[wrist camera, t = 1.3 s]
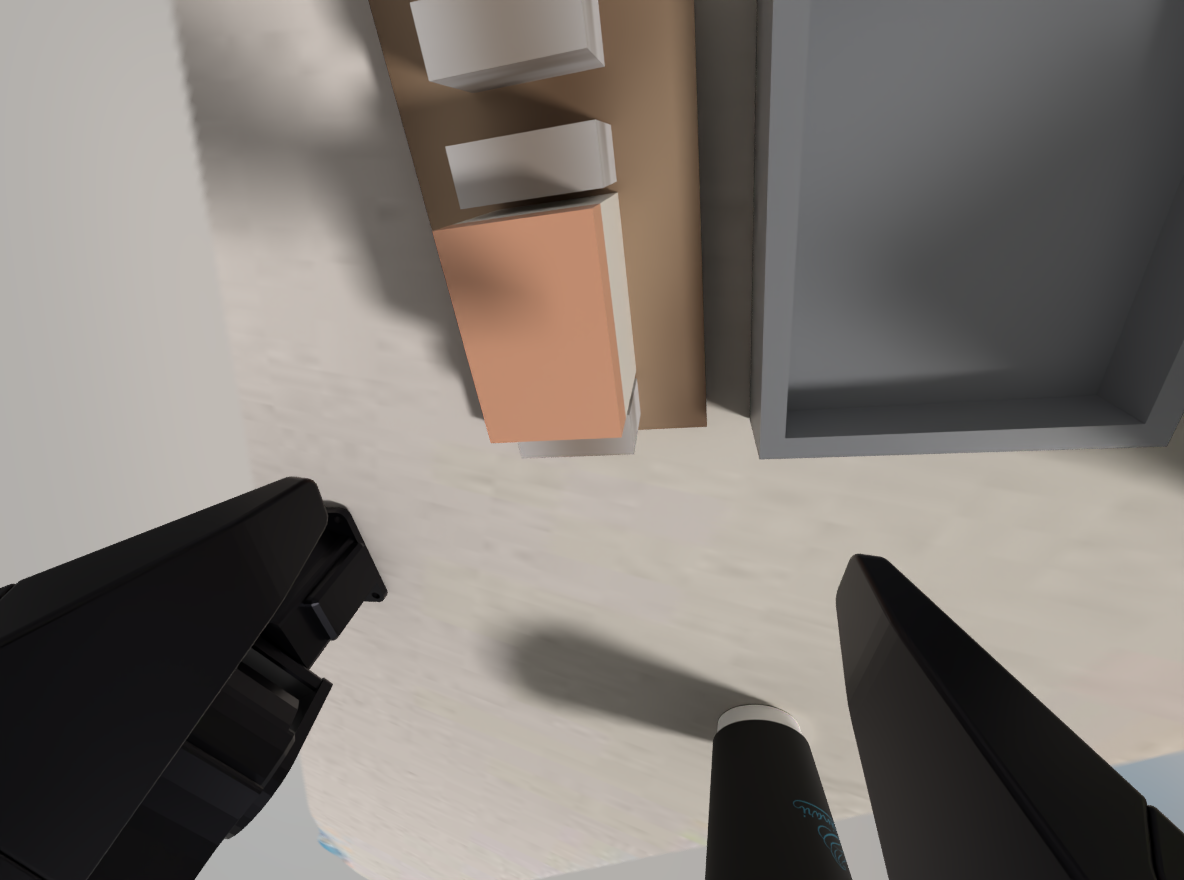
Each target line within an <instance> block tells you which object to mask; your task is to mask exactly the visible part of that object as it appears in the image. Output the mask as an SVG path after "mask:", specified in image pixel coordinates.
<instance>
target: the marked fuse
mask: <svg viewBox="0 0 1184 880" xmlns="http://www.w3.org/2000/svg"><path fill="white" fill-rule="evenodd" d="M432 233H433V236H434V240H435V243H436V247H437V251H438V254H439V258H440V261H441V265H442V269H443V272H444V276H445V279H446V283H447V287H448V290H449V294H450V297H451V301H452V305H453V308H454V312H455V315H456V319H457V323H458V326H459V330H460V334H461V337H462V341H463V344H464V348H465V352H466V355H467V359H468V362H469V366H470V370H471V373H472V377H473V380H474V384H475V388H476V391H477V395H478V398H479V402H480V406H481V409H482V413H483V416H484V420H485V424H486V427H487V431H488V435H489V438H490V442H491V443H507V442H530V441H553V440H576V439H600V438H622V434H623V429H624V425H625V420H626V416H627V411H628V406H629V402H630V397H631V393H632V388H633V383H634V379H635V374H636V364H635V354H634V345H633V335H632V325H631V315H630V306H629V296H628V286H627V277H626V267H625V257H624V247H623V238H622V228H621V218H620V209H619V199H618V192H617V193H610V194H603V195H596V196H590V197H583V198H576V199H569V200H563V201H556V202H549V203H542V204H536V205H529V206H522V207H515V208H509V209H502V210H497V211H494V212H490V213H487V214H484V215H481V216H478V217H475V218H472V219H469V220H465V221H462V222H459V223H456V224H453V225H450V226H447V227H444V228H440V229H437V230H434V231H432Z"/></svg>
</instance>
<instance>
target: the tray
mask: <svg viewBox="0 0 1184 880" xmlns="http://www.w3.org/2000/svg"><path fill="white" fill-rule="evenodd" d="M1183 413H1184V0H757V36H756V92H755V149H754V206H753V263H752V320H751V377H750V422H751V426H752V430H753V435H754V439H755V443H756V447H757V451H758V455H759V459H786V458H818V457H849V456H880V455H912V454H943V453H974V452H1006V451H1037V450H1068V449H1100V448H1131V447H1162V446H1167V445H1168V443H1169V441H1170V439H1171V437H1172V435H1173V433H1174V431H1175V429H1176V427H1177V425H1178V423H1179V421H1180V419H1181V417H1182V415H1183Z"/></svg>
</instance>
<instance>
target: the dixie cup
mask: <svg viewBox="0 0 1184 880" xmlns="http://www.w3.org/2000/svg"><path fill="white" fill-rule="evenodd" d="M705 880H852V878H851V874H850V871H849V868H848V865H847V862H846V859H845V856H844V852H843V850H842V846H841V843H840V840H839V837H838V834H837V831H836V827H835V824H834V821H833V818H832V815H831V812H830V809H829V806H828V802H827V799H826V796H825V793H824V790H823V787H822V784H821V781H820V777H819V774H818V771H817V768H816V765H815V762H814V759H813V756H812V752H811V749H810V746H809V744H808V742H807V740H806V739H805V737H804V736H803V735H802V733H801V730H800V727H799V724H798V723H797V721H796V720H795V719H794V718H793V717H792V716H791V715H789V714H788V713H786V712H784V711H782V710H780V709H777V708H774V707H770V706H765V705H744V706H739V707H735V708H732V709H730V710H728V711H727V712H725V713H724V714H723V715H722V716H721V717H720V718H719V721H718V727H717V733H716V735H715V737H714V740H713V751H712V769H711V786H710V803H709V821H708V838H707V856H706V875H705Z"/></svg>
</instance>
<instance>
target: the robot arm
mask: <svg viewBox="0 0 1184 880" xmlns="http://www.w3.org/2000/svg"><path fill="white" fill-rule="evenodd" d="M387 593H388V592H387V589H386V587H385V585H384V583H383V581H382V579H381V577H380V574H379V572H378V570H377V568H376V566H375V564H374V562H373V560H372V558H371V555H370V553H369V551H368V549H367V547H366V545H365V543H364V541H363V539H362V537H361V534H360V532H359V530H358V528H357V526H356V524H355V522H354V520H353V518H352V516H351V514H350V513H349V512H348V511H347V510H345V509H343V508H325V505H324V503H323V500H322V497H321V494H320V492H319V489H318V486H317V484H316V483H315V482H314V481H313V480H311V479H308V478H301V477H286V478H283V479H281V480H278V481H276V482H273V483H270V484H268V485H265V486H263V487H260V488H258V489H255V490H252V491H250V492H247V493H245V494H242V495H240V496H237V497H234V498H232V499H229V500H227V501H224V502H222V503H219V504H216V505H214V506H211V507H209V508H206V509H203V510H201V511H198V512H196V513H193V514H190V515H188V516H186V517H183V518H180V519H178V520H175V521H172V522H170V523H167V524H165V525H162V526H160V527H157V528H154V529H152V530H149V531H147V532H144V533H141V534H139V535H136V536H134V537H131V538H129V539H126V540H123V541H121V542H118V543H116V544H113V545H110V546H108V547H105V548H103V549H100V550H98V551H95V552H92V553H90V554H87V555H85V556H82V557H80V558H77V559H74V560H72V561H69V562H67V563H64V564H62V565H59V566H56V567H54V568H51V569H49V570H46V571H43V572H41V573H38V574H36V575H33V576H31V577H28V578H26V579H23V580H21V581H19V582H18V583H17V584H10V585H7V586H5V587H2V588H0V880H195V878H196V877H197V875H198V874H199V872H200V871H201V870H202V868H203V866H204V865H205V864H206V862H207V861H208V860H209V858H210V857H211V855H212V854H213V853H214V851H215V850H216V848H217V847H218V846H219V845H220V843H221V842H222V841H223V840H224V839H229V838H231V837H233V836H235V835H236V834H237V833H239V832H240V831H241V830H242V829H244V827H246V826H247V825H248V823H249V822H251V821H252V820H253V819H254V817H255V816H256V815H257V814H258V813H259V812H260V811H261V810H262V808H263V807H264V806H265V805H266V803H267V802H268V801H269V800H270V798H271V797H272V796H273V794H274V793H275V792H276V790H277V789H278V787H279V786H280V785H281V783H282V782H283V780H284V778H285V777H286V775H287V774H288V772H289V770H290V769H291V767H292V765H293V763H294V761H295V759H296V757H297V755H298V753H299V751H300V749H301V747H302V745H303V743H304V741H305V739H306V737H307V735H308V733H309V731H310V729H311V727H312V725H313V723H314V721H315V720H316V718H317V716H318V714H319V712H320V710H321V708H322V706H323V704H324V702H325V700H326V698H327V696H328V694H329V692H330V690H331V688H332V685H333V684H332V683H331V682H329V681H328V680H327V679H325V678H322V679H321V678H320V677H319V676H317V675H316V674H314V673H313V672H312V671H310V670H309V669H310V668H311V666H312V665H313V664H314V662H315V661H316V659H317V658H318V657H319V655H320V654H321V653H322V651H323V650H324V648H325V647H326V646H327V644H328V643H329V641H330V640H336V639H337V638H338V637H339V635H340V634H341V632H342V631H343V630H344V628H345V627H346V625H347V624H348V623H349V621H350V620H351V618H352V617H353V616H354V614H355V613H356V611H357V610H358V609H359V607H360V606H361V604H362V603H363V601H369V602H381V601H383V600H384V599H385V597H386V596H387ZM836 610H837V619H838V627H839V636H840V644H841V653H842V661H843V669H844V678H845V686H846V694H847V701H848V707H849V711H850V716H851V721H852V725H853V730H854V734H855V738H856V742H857V747H858V751H859V755H860V759H861V764H862V768H863V772H864V776H865V781H866V785H867V789H868V793H869V797H870V802H871V806H872V810H873V814H874V818H875V823H876V827H877V831H878V835H879V840H880V844H881V848H882V852H883V857H884V861H885V865H886V869H887V874H888V878H889V880H1184V833H1183V832H1182V831H1181V830H1180V829H1178V828H1177V827H1176V826H1175V825H1174V824H1173V823H1172V822H1171V821H1170V820H1169V819H1168V818H1167V817H1165V816H1164V815H1163V814H1162V813H1161V812H1160V811H1159V810H1158V809H1157V808H1155V807H1154V806H1151V805H1147V802H1146V799H1145V798H1144V796H1143V795H1141V794H1140V793H1139V792H1138V791H1137V790H1136V789H1135V788H1134V787H1133V786H1132V785H1131V784H1130V783H1128V782H1127V781H1126V780H1125V779H1124V778H1123V777H1122V776H1121V775H1120V774H1119V773H1118V772H1117V771H1115V770H1114V769H1113V768H1112V767H1111V766H1110V765H1109V764H1108V763H1107V762H1106V761H1105V760H1104V759H1102V758H1101V757H1100V756H1099V755H1098V754H1097V753H1096V752H1095V751H1094V750H1093V749H1092V748H1091V747H1089V746H1088V745H1087V744H1086V743H1085V742H1084V741H1083V740H1082V739H1081V738H1080V737H1079V736H1078V735H1076V734H1075V733H1074V732H1073V731H1072V730H1071V729H1070V728H1069V727H1068V726H1067V725H1066V724H1065V723H1063V722H1062V721H1061V720H1060V719H1059V718H1058V717H1057V716H1056V715H1055V714H1054V713H1053V712H1052V711H1050V710H1049V709H1048V708H1047V707H1046V706H1045V705H1044V704H1043V703H1042V702H1041V701H1040V700H1039V699H1037V698H1036V697H1035V696H1034V695H1033V694H1032V693H1031V692H1030V691H1029V690H1028V689H1027V688H1026V687H1024V686H1023V685H1022V684H1021V683H1020V682H1019V681H1018V680H1017V679H1016V678H1015V677H1014V676H1013V675H1011V674H1010V673H1009V672H1008V671H1007V670H1006V669H1005V668H1004V667H1003V666H1002V665H1001V664H1000V663H998V662H997V661H996V660H995V659H994V658H993V657H992V656H991V655H990V654H989V653H988V652H987V651H985V650H984V649H983V648H982V647H981V646H980V645H979V644H978V643H977V642H976V641H975V640H974V639H972V638H971V637H970V636H969V635H968V634H967V633H966V632H965V631H964V630H963V629H962V628H961V627H959V626H958V625H957V624H956V623H955V622H954V621H953V620H952V619H951V618H950V617H949V616H948V615H946V614H945V613H944V612H943V611H942V610H941V609H940V608H939V607H938V606H937V605H936V604H935V603H934V602H932V601H931V600H930V599H929V598H928V597H927V596H926V595H925V594H924V593H923V592H922V591H921V590H919V589H918V588H917V587H916V586H915V585H914V584H913V583H912V582H911V581H910V580H909V579H908V578H906V577H905V576H904V575H903V574H902V573H901V572H900V571H899V570H898V569H897V568H896V567H895V566H893V565H892V564H891V563H890V562H889V561H888V560H886V559H885V558H883V557H880V556H872V555H865V554H855V555H853V556H852V557H851V559H850V560H849V563H848V565H847V568H846V570H845V573H844V575H843V577H842V580H841V582H840V585H839V587H838V590H837V594H836Z"/></svg>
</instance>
